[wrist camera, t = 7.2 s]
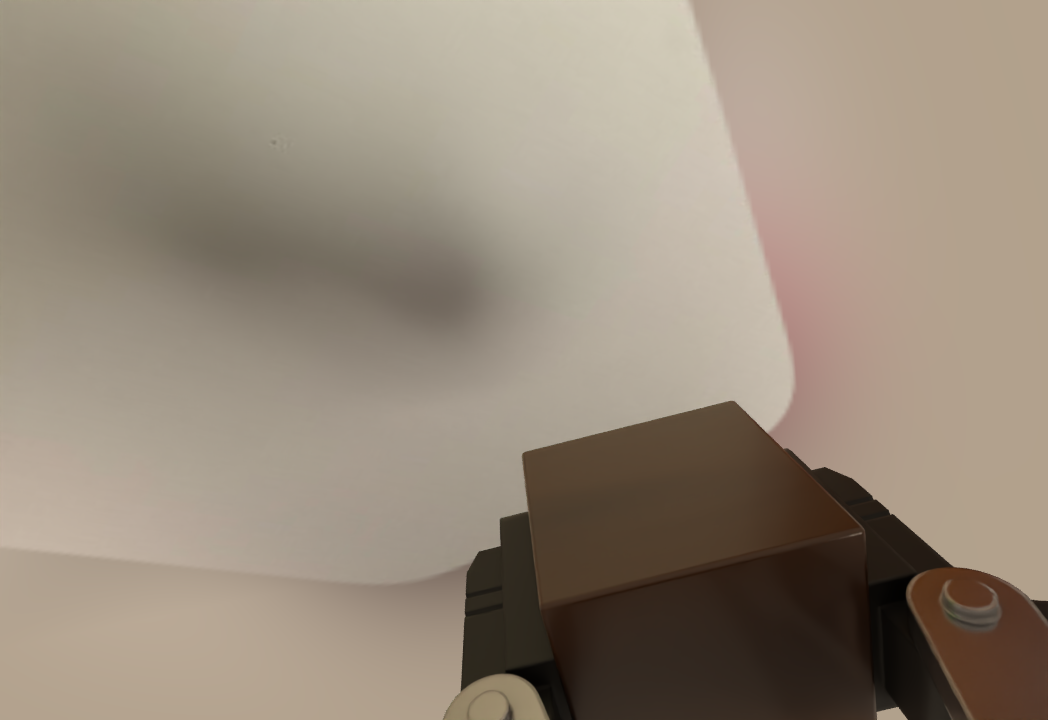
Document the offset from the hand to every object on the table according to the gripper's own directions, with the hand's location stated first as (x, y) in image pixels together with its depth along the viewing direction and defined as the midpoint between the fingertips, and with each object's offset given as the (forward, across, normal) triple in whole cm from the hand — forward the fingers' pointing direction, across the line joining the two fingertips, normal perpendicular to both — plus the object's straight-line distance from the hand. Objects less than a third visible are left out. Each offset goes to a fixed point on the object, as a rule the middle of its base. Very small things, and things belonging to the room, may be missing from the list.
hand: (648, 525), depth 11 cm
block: (0, 0, 0) cm, 0 cm away
